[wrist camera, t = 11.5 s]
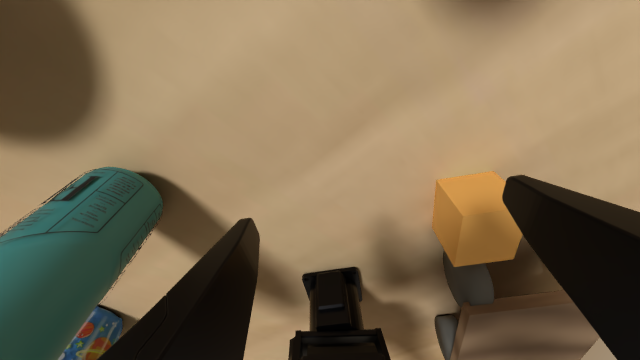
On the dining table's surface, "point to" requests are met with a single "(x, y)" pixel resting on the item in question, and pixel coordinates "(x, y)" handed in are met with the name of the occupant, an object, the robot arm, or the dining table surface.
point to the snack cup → (94, 336)
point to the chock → (474, 220)
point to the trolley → (509, 322)
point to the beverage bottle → (70, 259)
